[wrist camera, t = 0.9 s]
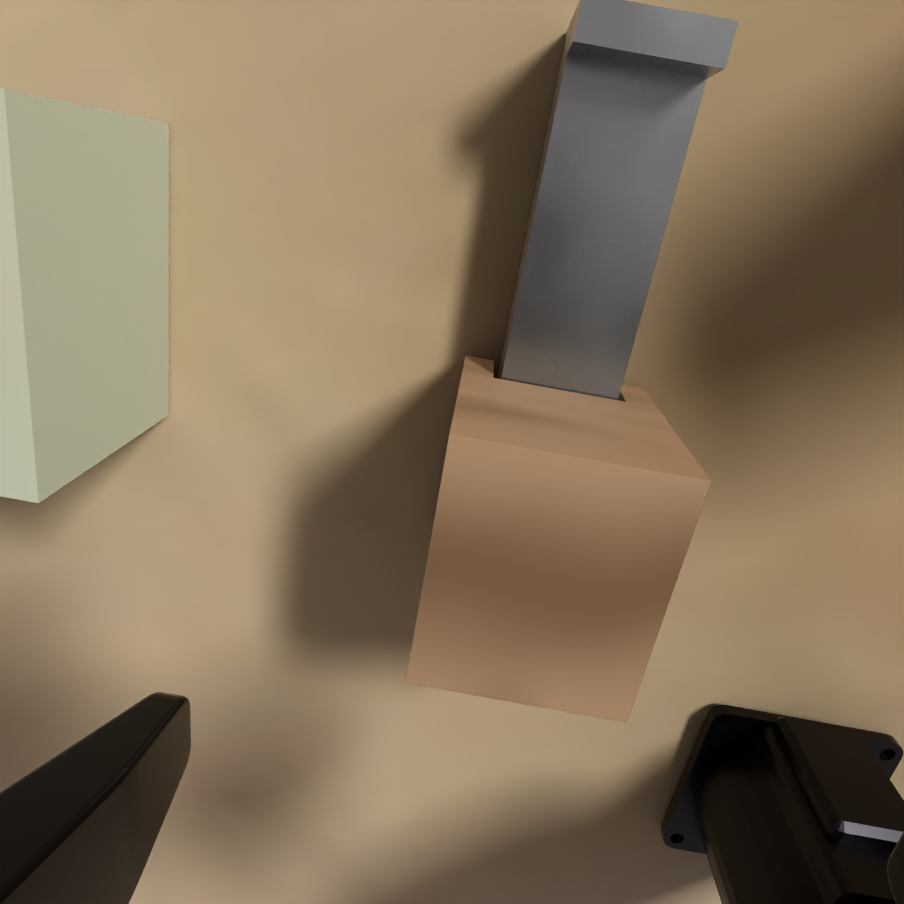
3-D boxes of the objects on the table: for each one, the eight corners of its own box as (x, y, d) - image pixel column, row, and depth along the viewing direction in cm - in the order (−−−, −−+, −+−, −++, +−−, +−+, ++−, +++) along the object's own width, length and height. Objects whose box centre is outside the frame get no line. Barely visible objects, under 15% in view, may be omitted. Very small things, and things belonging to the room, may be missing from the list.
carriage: (590, 570, 20) (627, 722, 15) (432, 541, 20) (405, 682, 15) (643, 387, 18) (711, 481, 12) (465, 355, 18) (449, 433, 12)
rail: (550, 586, 21) (559, 650, 18) (459, 569, 21) (452, 631, 18) (692, 54, 15) (738, 21, 12) (566, 31, 15) (583, -7, 12)
